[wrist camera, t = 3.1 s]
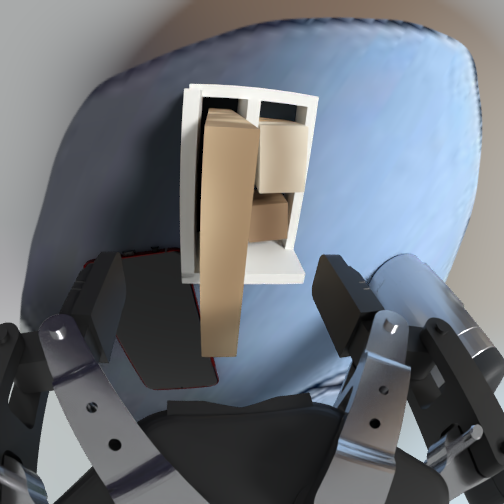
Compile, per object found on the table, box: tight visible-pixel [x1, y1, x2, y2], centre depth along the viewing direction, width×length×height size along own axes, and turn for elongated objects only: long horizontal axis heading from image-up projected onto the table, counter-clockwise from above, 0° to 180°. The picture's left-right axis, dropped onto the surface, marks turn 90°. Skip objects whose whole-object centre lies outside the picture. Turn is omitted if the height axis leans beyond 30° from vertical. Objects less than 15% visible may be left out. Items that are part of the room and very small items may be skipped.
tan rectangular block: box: [200, 108, 260, 357], centre depth 18 cm, size 2×11×16 cm, turn 174°
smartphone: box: [84, 247, 219, 390], centre depth 34 cm, size 12×2×25 cm
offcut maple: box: [255, 121, 308, 193], centre depth 21 cm, size 3×5×3 cm
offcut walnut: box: [248, 189, 288, 243], centre depth 26 cm, size 3×3×4 cm
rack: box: [180, 84, 319, 284], centre depth 22 cm, size 10×15×7 cm, turn 174°
